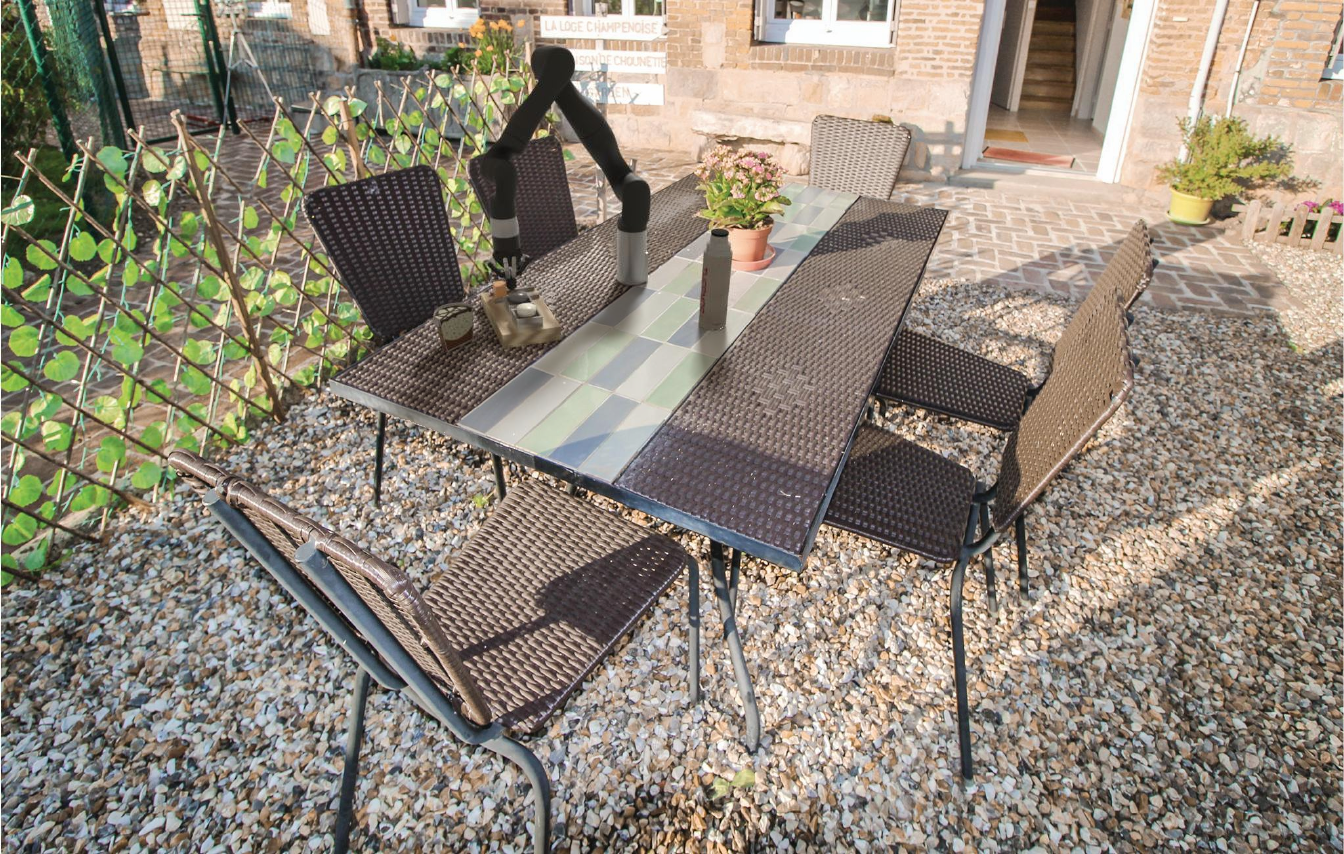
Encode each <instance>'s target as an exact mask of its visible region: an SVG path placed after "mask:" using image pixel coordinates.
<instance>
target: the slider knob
mask: <svg viewBox="0 0 1344 854" xmlns="http://www.w3.org/2000/svg"><path fill="white" fill-rule="evenodd" d="M506 289H507V287H506V282H505V281H504V280H499V281H498V280H497V281H493V282H492V291H493V292H494V296H495V298H496V299H498V298H503V296H507V290H506Z"/></svg>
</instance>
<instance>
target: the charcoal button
mask: <svg viewBox="0 0 1344 854" xmlns="http://www.w3.org/2000/svg"><path fill="white" fill-rule="evenodd" d="M527 300H528V299H527V292H525V291H522V290H515V291H512V292H510V293H509V301H510V302H512V303H515V304H520V303H525V302H526V301H527Z"/></svg>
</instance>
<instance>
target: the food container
mask: <svg viewBox="0 0 1344 854" xmlns="http://www.w3.org/2000/svg"><path fill="white" fill-rule="evenodd" d="M475 311H476V310H475V308H474V306H473V304H471V303H468V302H452V303H451V302H450V303H447V304H442V305H441V306H439V307H437V308H436V309H435V310H434V312H433V315H432V323H433V324H434V326H436V328H437V333H438V336H439V341H440V345H441V348H442V350H443V351H444V352H446V353H448V352H451V351H453V350H455V349H456V348H459V347H462V346H463V345H466V344H467V343H469V342H472V341H473V340H474V339H475V336H474V312H475Z"/></svg>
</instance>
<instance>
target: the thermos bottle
mask: <svg viewBox="0 0 1344 854" xmlns="http://www.w3.org/2000/svg"><path fill="white" fill-rule="evenodd" d="M729 235H730V232H729V230H728V229H725V228H718V227H717V228H713V229H711V231H710V238H709V239H708V240H707V242H706V244H705V245H706V246H705V247H704V249H703V253H702V254H703V256H702V257H703V258H702V270H701V287H700V288H701V289H700V296H699V297H700V299H699V300H700V301H699V309H698V310H699V313H698V325H699V327H700V328H702V327H703V328H702V329H704V328H705V330H708V329H720V328H722V327H724V326H725V325H726V326H727V315H728V305H729V293H730V284H731V274H732V272H731V271H732V263H733V250H732V245H731V244H732V243H731V242H730V241H729ZM726 326H725V327H726ZM725 327H724V328H725ZM720 330H721V329H720Z"/></svg>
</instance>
